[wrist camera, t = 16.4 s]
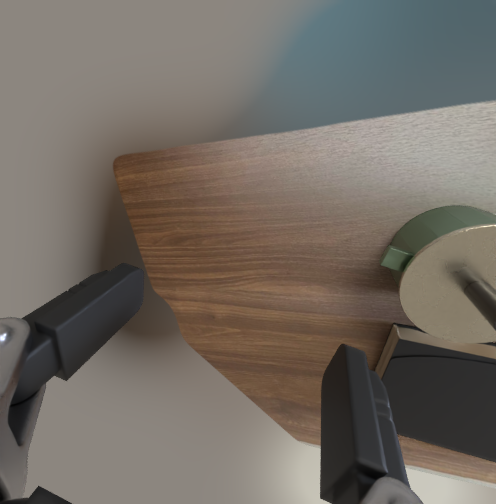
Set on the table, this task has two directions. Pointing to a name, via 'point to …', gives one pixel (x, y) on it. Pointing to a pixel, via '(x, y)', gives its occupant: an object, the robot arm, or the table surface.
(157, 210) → the table surface
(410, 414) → the file folder
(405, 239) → the tin
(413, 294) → the lid
